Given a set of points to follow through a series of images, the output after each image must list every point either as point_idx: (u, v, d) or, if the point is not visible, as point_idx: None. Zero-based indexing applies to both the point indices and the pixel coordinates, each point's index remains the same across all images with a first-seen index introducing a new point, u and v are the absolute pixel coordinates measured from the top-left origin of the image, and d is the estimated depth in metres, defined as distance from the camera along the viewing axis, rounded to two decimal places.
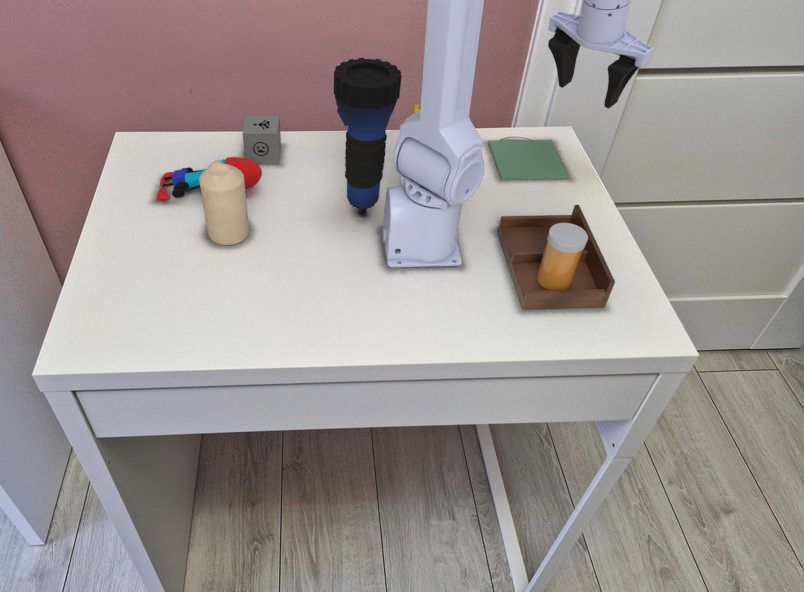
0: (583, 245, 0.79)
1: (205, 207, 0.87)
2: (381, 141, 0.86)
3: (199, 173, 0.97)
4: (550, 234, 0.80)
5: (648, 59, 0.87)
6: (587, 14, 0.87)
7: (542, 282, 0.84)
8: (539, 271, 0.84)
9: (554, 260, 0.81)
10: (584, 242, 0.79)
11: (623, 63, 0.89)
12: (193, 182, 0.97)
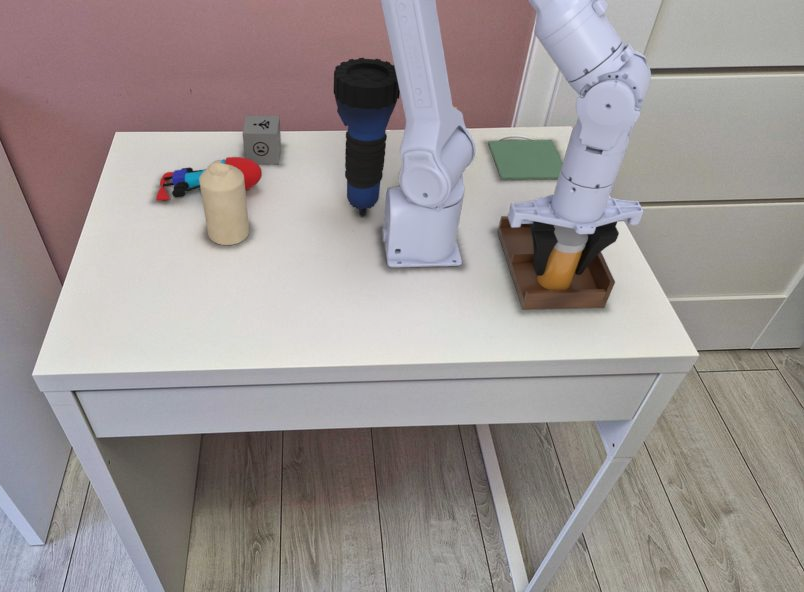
0: (583, 245, 0.79)
1: (205, 207, 0.87)
2: (381, 141, 0.86)
3: (199, 173, 0.97)
4: None
5: (511, 219, 0.77)
6: None
7: (542, 282, 0.84)
8: None
9: (554, 260, 0.81)
10: (584, 242, 0.79)
11: None
12: (193, 182, 0.97)
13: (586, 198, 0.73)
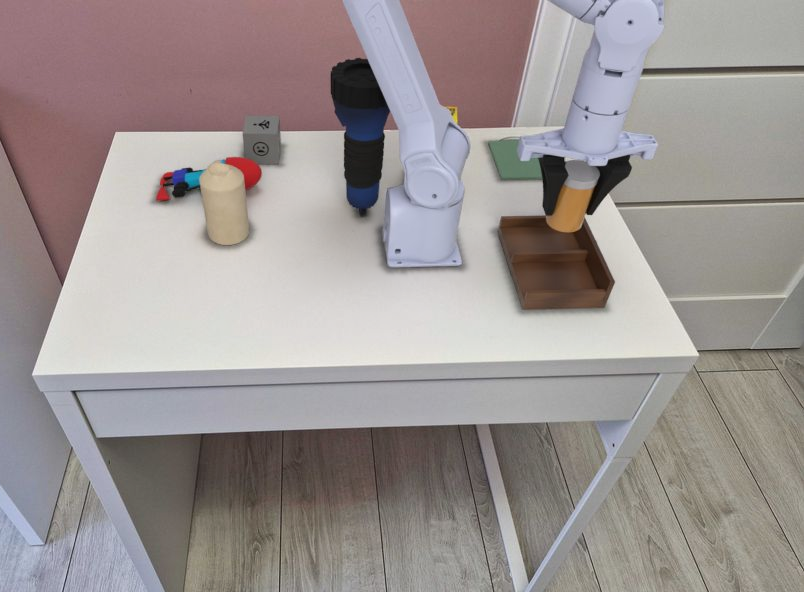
0: (595, 181, 0.76)
1: (205, 207, 0.87)
2: (379, 141, 0.86)
3: (199, 173, 0.97)
4: None
5: (520, 152, 0.75)
6: None
7: (552, 223, 0.81)
8: None
9: (565, 198, 0.78)
10: (596, 178, 0.76)
11: None
12: (193, 182, 0.97)
13: (599, 127, 0.70)
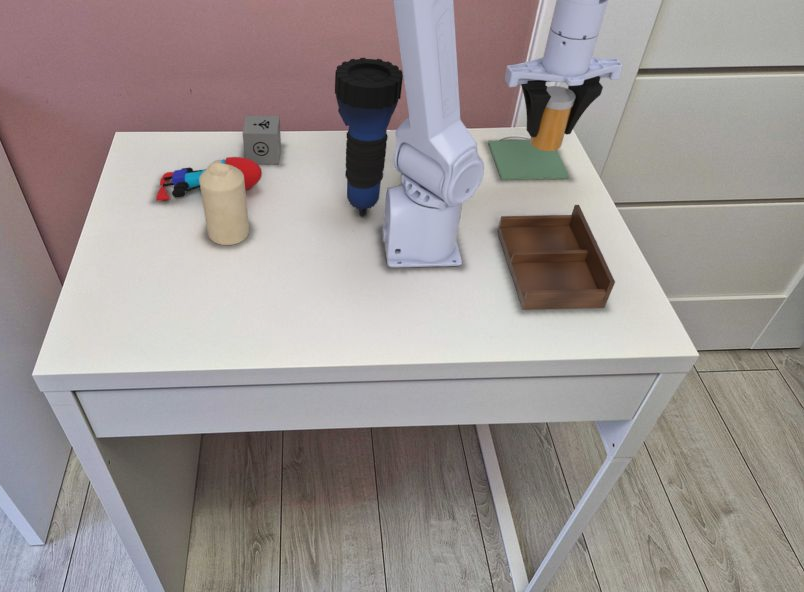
0: (572, 102, 0.88)
1: (205, 207, 0.87)
2: (382, 141, 0.86)
3: (199, 173, 0.97)
4: None
5: (508, 80, 0.86)
6: None
7: (536, 144, 0.93)
8: None
9: (547, 119, 0.90)
10: (573, 99, 0.88)
11: None
12: (193, 182, 0.97)
13: (575, 50, 0.82)
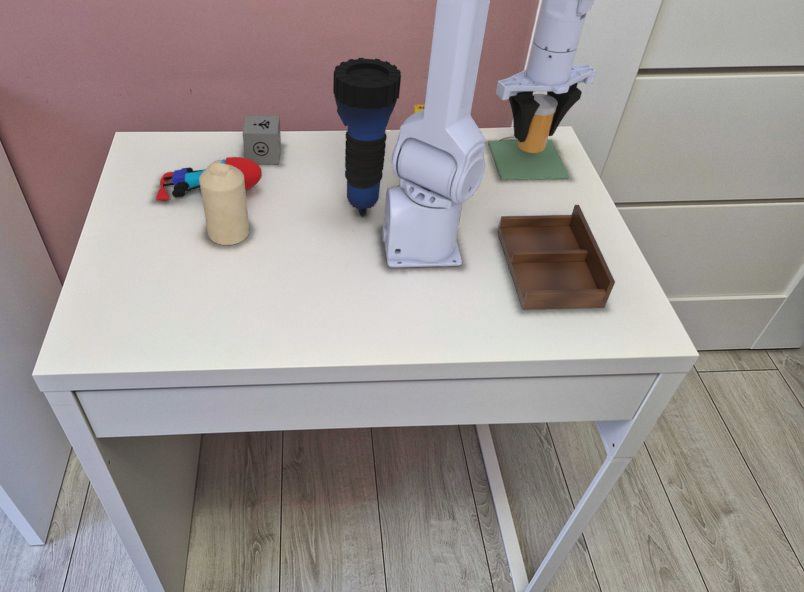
0: (556, 107, 0.97)
1: (205, 207, 0.87)
2: (381, 141, 0.86)
3: (199, 173, 0.97)
4: None
5: (500, 94, 0.94)
6: None
7: (525, 147, 1.01)
8: None
9: (535, 124, 0.98)
10: (556, 104, 0.97)
11: None
12: (193, 182, 0.97)
13: (560, 62, 0.91)
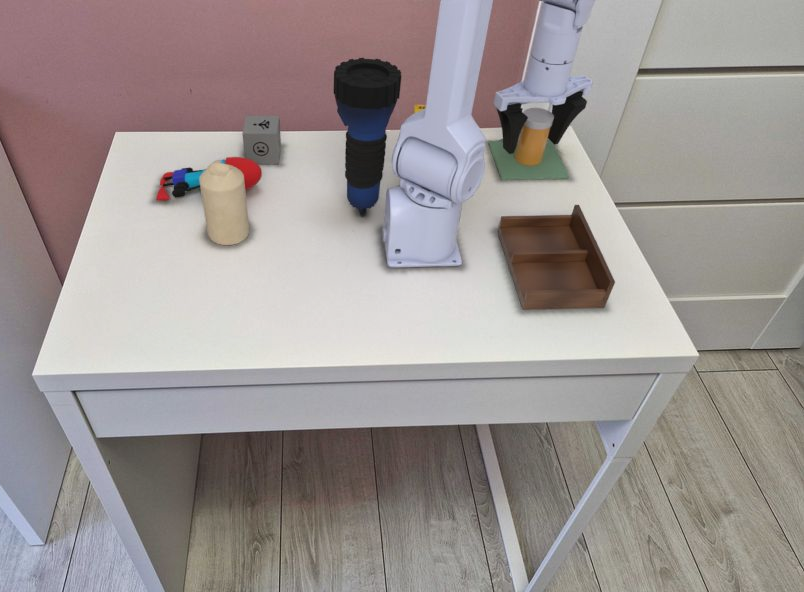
0: (552, 121, 0.99)
1: (205, 207, 0.87)
2: (381, 141, 0.86)
3: (199, 173, 0.97)
4: None
5: (498, 105, 0.95)
6: None
7: (522, 160, 1.03)
8: (517, 152, 1.03)
9: (532, 138, 1.00)
10: (552, 118, 0.99)
11: None
12: (193, 182, 0.97)
13: (557, 74, 0.92)
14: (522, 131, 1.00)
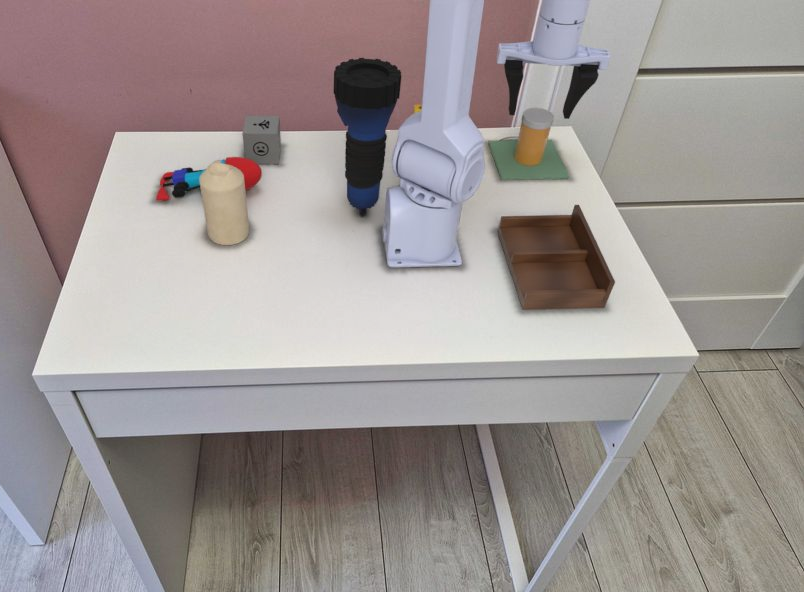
0: (552, 121, 0.99)
1: (205, 207, 0.87)
2: (381, 141, 0.86)
3: (199, 173, 0.97)
4: (526, 117, 0.99)
5: None
6: (557, 32, 0.88)
7: (522, 160, 1.03)
8: (517, 152, 1.03)
9: (532, 138, 1.00)
10: (552, 118, 0.99)
11: (587, 70, 0.93)
12: (193, 182, 0.97)
13: None
14: (522, 131, 1.00)
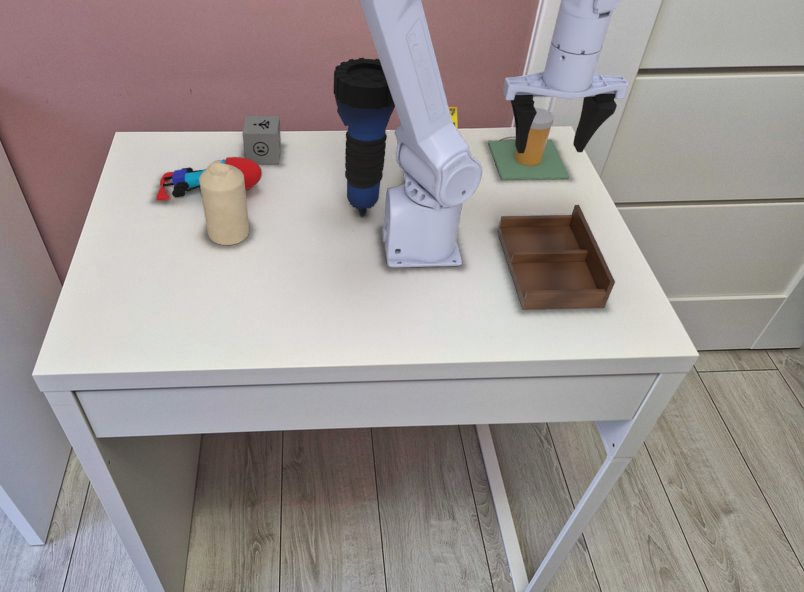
0: (552, 121, 0.99)
1: (205, 207, 0.87)
2: (381, 141, 0.86)
3: (199, 173, 0.97)
4: None
5: None
6: (575, 63, 0.79)
7: (522, 160, 1.03)
8: (517, 152, 1.03)
9: (532, 138, 1.00)
10: (552, 118, 0.99)
11: (604, 101, 0.84)
12: (193, 182, 0.97)
13: None
14: None
